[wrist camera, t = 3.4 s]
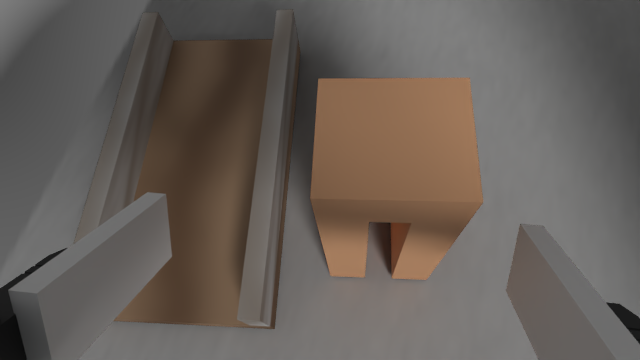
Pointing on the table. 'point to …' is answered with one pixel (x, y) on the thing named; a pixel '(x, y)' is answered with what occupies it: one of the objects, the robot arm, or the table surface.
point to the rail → (204, 169)
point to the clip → (394, 169)
